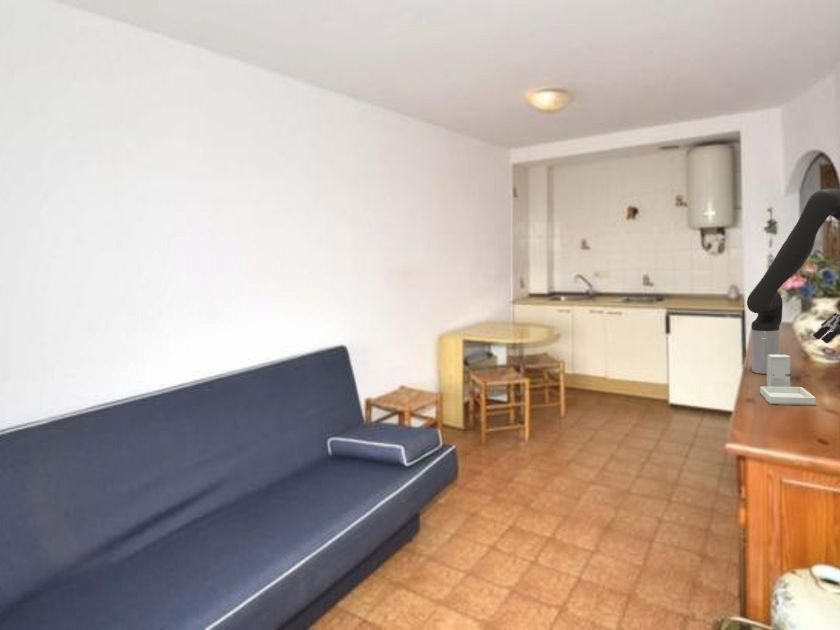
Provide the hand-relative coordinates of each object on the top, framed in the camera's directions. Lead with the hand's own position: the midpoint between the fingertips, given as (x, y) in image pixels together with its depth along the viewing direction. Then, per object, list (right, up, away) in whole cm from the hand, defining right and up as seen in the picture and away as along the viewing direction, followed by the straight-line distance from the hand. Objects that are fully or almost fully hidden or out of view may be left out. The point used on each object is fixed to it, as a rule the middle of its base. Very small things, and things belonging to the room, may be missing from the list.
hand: (819, 339), depth 177 cm
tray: (-16, -19, -7) cm, 26 cm away
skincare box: (-10, -18, +6) cm, 21 cm away
